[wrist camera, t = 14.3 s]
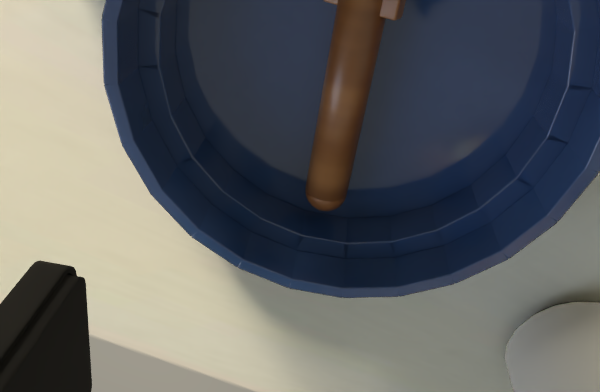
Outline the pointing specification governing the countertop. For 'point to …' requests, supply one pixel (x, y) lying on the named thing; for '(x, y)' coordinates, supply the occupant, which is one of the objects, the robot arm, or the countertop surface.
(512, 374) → the can
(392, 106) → the bowl
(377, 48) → the stirring stick
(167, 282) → the countertop surface
